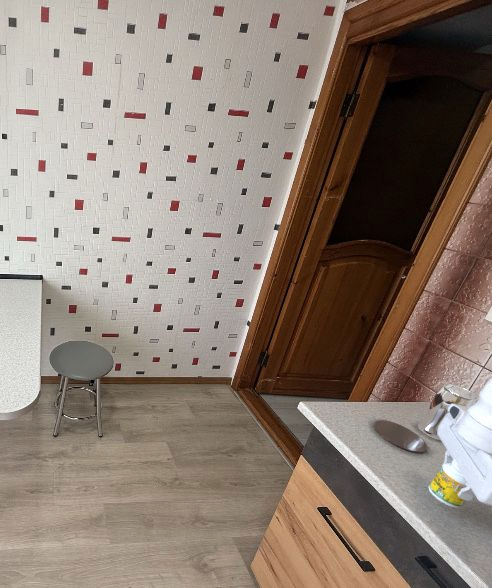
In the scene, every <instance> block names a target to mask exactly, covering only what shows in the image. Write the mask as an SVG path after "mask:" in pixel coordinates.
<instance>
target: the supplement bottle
mask: <svg viewBox="0 0 492 588" xmlns="http://www.w3.org/2000/svg"><path fill="white" fill-rule="evenodd" d="M442 465H443V464H442ZM442 465H441V468H440V469H439V471H438V472H437V473H436V475H435V476H434V477H433V479H432V480H431V482H430V483H429V485H428V491H429V493H430V494H431V495H432V496H433V497H434V498H436V500H438V501H439V502H441V503H443V504H445V505H446V506H449V507H451V508H455V509H460V508H462V507H464V506H465V505H466V503H467V502H468V501H466V500H464V499H461V498H459V496H458V495H457V493H456V489H457V488H458V487H459V486H461V487H464V488H465V487H467V486H466V483H467V481H466V479H465V478H464V476H463V475H462V473H461V471H460V470H459V468H458V463H457V462H456V460H455V459H453V461H452V462H451V463H447V464H444V465H443V466H442Z"/></svg>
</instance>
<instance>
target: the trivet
mask: <svg viewBox="0 0 492 588" xmlns="http://www.w3.org/2000/svg"><path fill="white" fill-rule="evenodd" d="M373 427H374V430H375V432H377V434H378V435H379V436H380V437H381V438H382V439H384V440H385V441H386V442H388V443H390V444H391V445H393V446H395V447H396V448H399V449H400V450H403V451H406V452H408V453H409V452H410V453H414V454H423V453H425V452H426V451H427V444H426V442H425V441H424V440H423V439H422V437H420V436H419V435H418V434H416V432H414V431H412V430H410V429H409V428H407V427H406V426H403V425H401V424H399V423H396V422H393V421H391V420H386V419H385V420H384V419H379V420H377V421H375V422H374V424H373Z"/></svg>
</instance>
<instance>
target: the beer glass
mask: <svg viewBox="0 0 492 588" xmlns="http://www.w3.org/2000/svg"><path fill="white" fill-rule="evenodd" d="M478 398H479V396H477V394H475V393H474V392H472V391H471V390H470V389H467V388H465V387H463V386H460V385H457V384H454V383H449V382H448V383H443V385H442V386H441V387H440V388H439V390H437V392H436V394H435V395H434V396H433V397H432V400H431V402H430V405H429V408H428V410H427V414H426V416H425V417H424V419H423V420H421V421H420V422H419V423H418V424H417V428H418V430H419V431H420V432H422V433H423V434H424V435H426V436H427V437H430V438H431V439H434V440H436V441H441V439H440V438H439V436H438V435H437V430H438V426H439V424H440V423H441V421H442V419H443V418H444V416H445V415H446V414H447V413H449V412H448V408H449V406H450V405H451V404H457V405H461V406H465V407H470V406H472V405H473V404H475V403H476V402H477V401H478ZM441 442H442V441H441Z"/></svg>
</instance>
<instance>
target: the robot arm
mask: <svg viewBox="0 0 492 588" xmlns="http://www.w3.org/2000/svg"><path fill="white" fill-rule="evenodd" d="M448 412H449V413H447V414H446V415H445V416H444V418H443V419H442V421H441V423H440V424H439V426H438V430H437V435H438V436H439V438H440V439H441V443H442V444H443V446H444V447H445V449H446V451H445V453H444V461H443V463H442V465H441V467H442V466H443V465H444V464H447V463H451V462H452V461H453V459H455V460H456V462H457V463H458V468H459V470H460V471H461V473H462V475H463V476H464V478H465V479H466V481H467V483H466V486H467V487H465V488H464V487H461V486H459V487H458V488H457V489H456V493H457V495H458V496H459V498H461V499H464V500H466V501H467V502H470V501H472V500H473V499H474V497H476V499H477V500H478V502H480V503H482V504H484V505H487V506H489V507H492V376H491V377H490V378H489V379H488V380H487V381H486V383H485V384H484V386H483V387H482V388H481V390H480V391H479V393H478V399H477V401H476V403H475V404H473V405H472V406H470V407H465V406H461V405H457V404H451V405H450V406H449V408H448Z"/></svg>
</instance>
